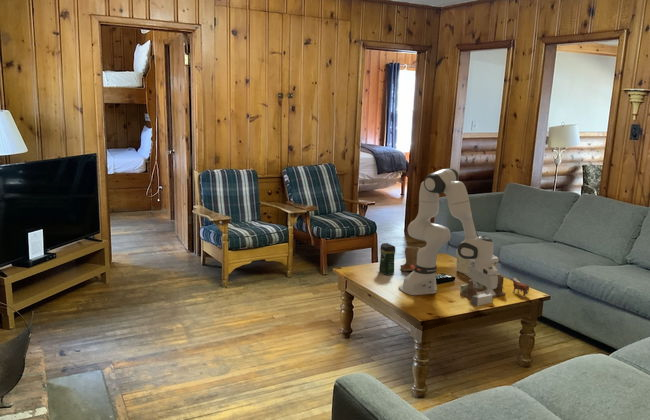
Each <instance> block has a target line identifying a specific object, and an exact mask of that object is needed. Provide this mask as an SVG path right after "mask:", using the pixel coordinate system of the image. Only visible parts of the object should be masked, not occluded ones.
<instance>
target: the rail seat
mask: <svg viewBox="0 0 650 420" xmlns="http://www.w3.org/2000/svg"><path fill="white" fill-rule="evenodd" d="M497 276H498V284H497V288H495V289H491V290H490V291H489V293H490V294H493V299H494V298H497V297H504V296H506V292H504V291H503V288H504V287H503V286H504V279H505V278H504V277H505V276H503V275H502V274H501V273H498V274H497ZM477 285H478V288H474V287H473V286H474V284H473V281H472V279H471V278H470V279H468V283H466V284H461V285H460V290H459V291H460V292H459V294H460V295H461V296H463V297H465V298H467V299H469V300H471V301H472V296H475V295H480V294H485V291H486V290H487V288H486V286H484V285H482V284H480V283H478V282H477Z"/></svg>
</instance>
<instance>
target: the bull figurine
mask: <svg viewBox="0 0 650 420" xmlns="http://www.w3.org/2000/svg"><path fill="white" fill-rule="evenodd" d="M510 280H511V281H512V283H513V284H512V285H513V291H512V292H514V293H515V291H516V290H517V292H516V293H517V294H520V292H523V295H522V298H525V296H526V295H527V296H528V294H529V290H530V286H529V285H528V284H526V283H523V282H521V281H520V279H517V277H513V278H511V279H510ZM514 293H513V294H514Z"/></svg>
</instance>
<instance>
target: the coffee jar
mask: <svg viewBox="0 0 650 420" xmlns="http://www.w3.org/2000/svg"><path fill="white" fill-rule="evenodd" d="M379 251H380V259H379V268H378V271H379V272H380V273H382V274H383V275H393V274H395V255H396V246H395V245H392V244H391V243H388V242H383V243H381V244H380V250H379Z"/></svg>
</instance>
